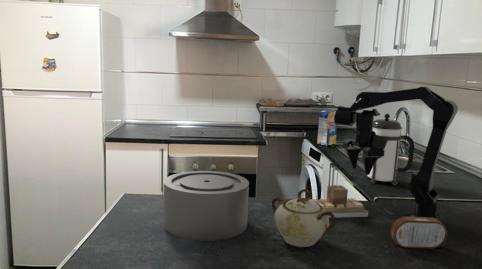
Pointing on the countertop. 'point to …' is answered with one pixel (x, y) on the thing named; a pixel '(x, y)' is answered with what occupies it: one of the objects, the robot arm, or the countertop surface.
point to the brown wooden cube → (337, 194)
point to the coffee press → (389, 151)
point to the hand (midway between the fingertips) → (360, 171)
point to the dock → (350, 213)
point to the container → (205, 205)
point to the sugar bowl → (301, 220)
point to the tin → (418, 232)
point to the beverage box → (327, 128)
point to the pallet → (340, 205)
